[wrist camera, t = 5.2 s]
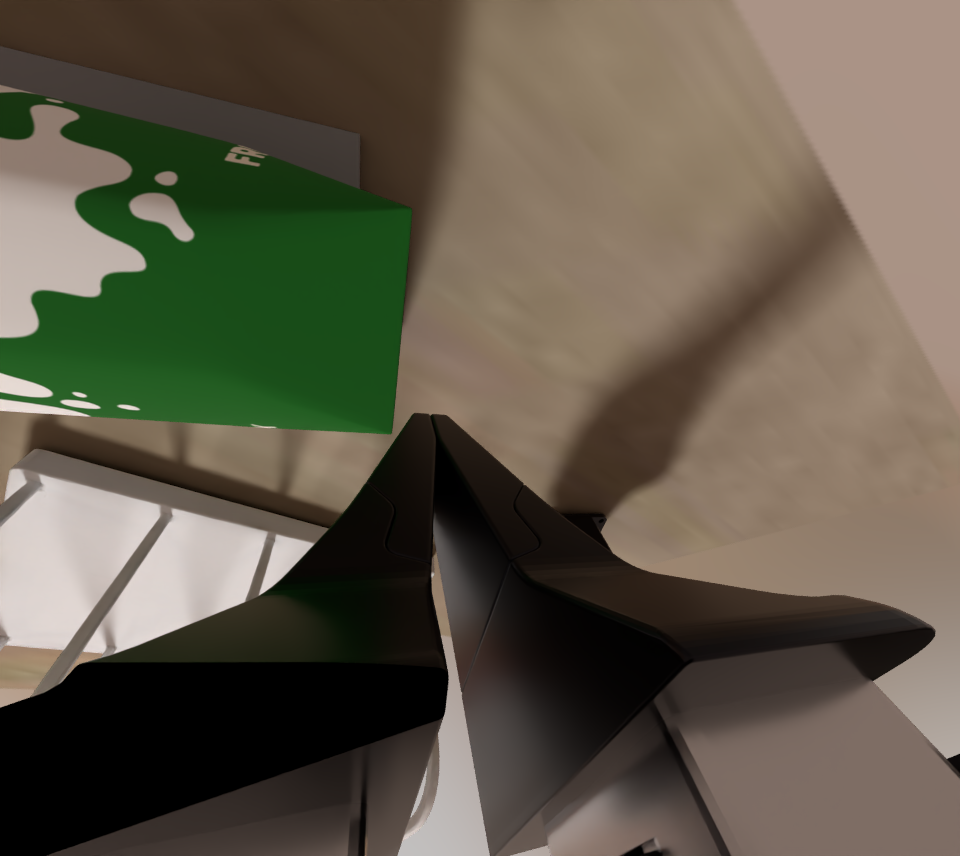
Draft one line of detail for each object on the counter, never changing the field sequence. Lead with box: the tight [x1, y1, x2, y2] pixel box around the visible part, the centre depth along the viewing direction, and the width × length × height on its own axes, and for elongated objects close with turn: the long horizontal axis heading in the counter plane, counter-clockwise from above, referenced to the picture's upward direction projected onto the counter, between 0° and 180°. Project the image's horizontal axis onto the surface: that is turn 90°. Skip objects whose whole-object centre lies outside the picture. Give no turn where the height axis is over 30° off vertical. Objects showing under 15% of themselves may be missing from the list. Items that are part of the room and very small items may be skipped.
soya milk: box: [0, 85, 412, 434], centre depth 12 cm, size 9×9×20 cm
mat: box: [0, 46, 360, 189], centre depth 15 cm, size 13×22×1 cm, turn 79°
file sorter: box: [0, 449, 439, 841], centre depth 22 cm, size 25×17×16 cm
